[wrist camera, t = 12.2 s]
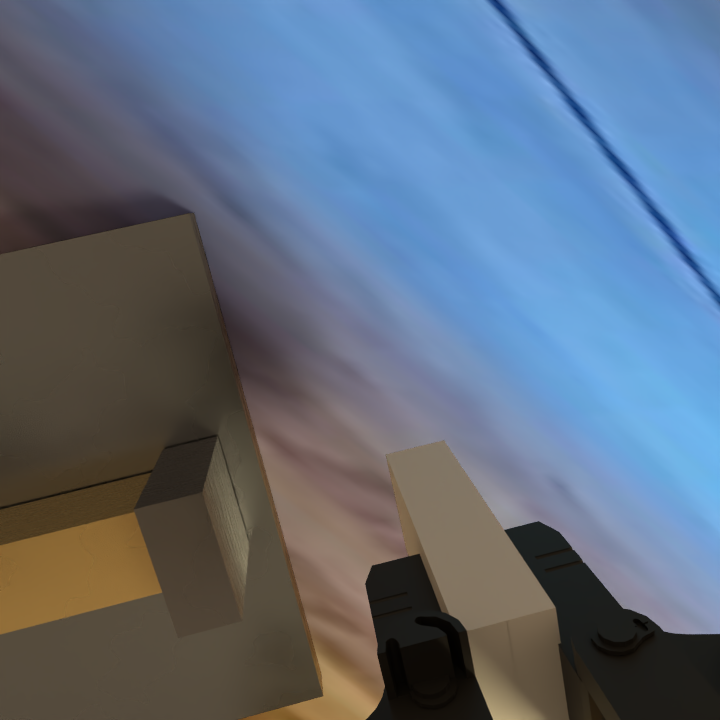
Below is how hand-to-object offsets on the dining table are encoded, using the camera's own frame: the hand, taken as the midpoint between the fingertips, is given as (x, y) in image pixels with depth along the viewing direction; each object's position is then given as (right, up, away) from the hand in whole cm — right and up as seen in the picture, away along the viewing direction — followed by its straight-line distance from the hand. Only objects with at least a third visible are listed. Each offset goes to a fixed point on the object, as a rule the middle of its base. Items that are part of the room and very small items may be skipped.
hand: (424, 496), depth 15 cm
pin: (-11, -2, +2) cm, 11 cm away
